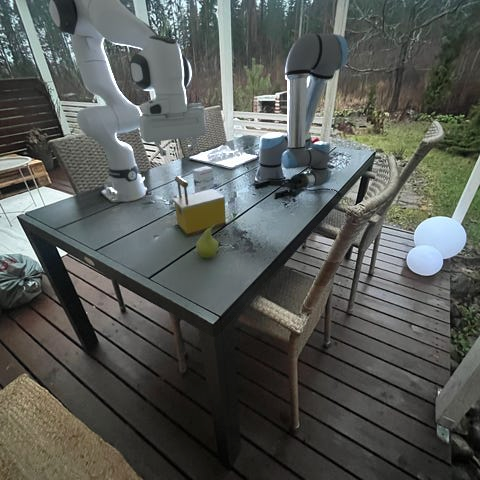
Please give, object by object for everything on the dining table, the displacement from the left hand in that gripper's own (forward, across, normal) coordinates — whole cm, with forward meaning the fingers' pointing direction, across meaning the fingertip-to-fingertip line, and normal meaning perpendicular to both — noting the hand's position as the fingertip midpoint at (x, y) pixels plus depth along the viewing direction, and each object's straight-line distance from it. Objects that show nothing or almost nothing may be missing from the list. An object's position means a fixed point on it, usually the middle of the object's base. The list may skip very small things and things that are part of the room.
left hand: (177, 153), depth 86 cm
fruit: (+28, +1, +19) cm, 34 cm away
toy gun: (+28, -97, -35) cm, 107 cm away
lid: (+18, -6, 0) cm, 19 cm away
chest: (+28, -6, 0) cm, 29 cm away
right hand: (+21, -36, 0) cm, 41 cm away
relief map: (+28, -57, -72) cm, 97 cm away
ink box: (+28, -21, -28) cm, 45 cm away
